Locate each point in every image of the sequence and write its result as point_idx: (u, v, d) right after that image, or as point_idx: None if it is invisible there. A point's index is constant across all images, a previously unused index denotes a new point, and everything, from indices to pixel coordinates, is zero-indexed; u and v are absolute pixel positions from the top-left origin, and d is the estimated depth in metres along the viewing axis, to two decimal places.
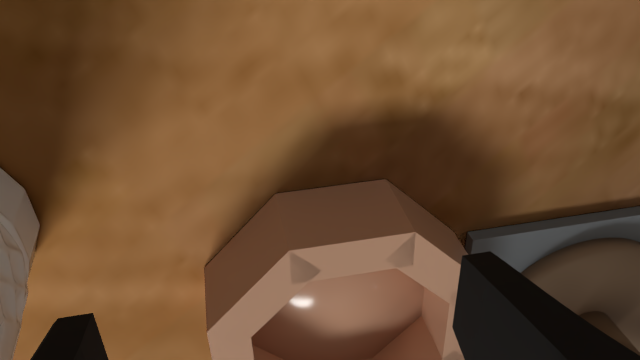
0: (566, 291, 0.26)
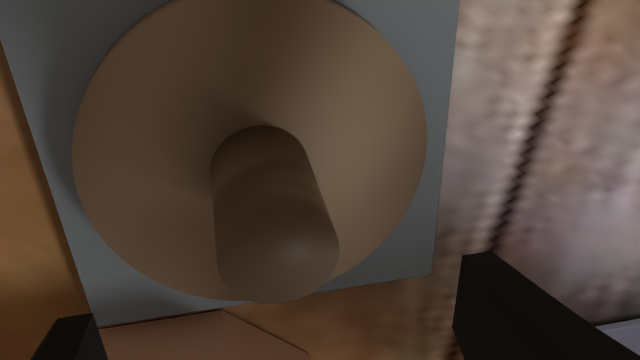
0: (163, 228, 0.17)
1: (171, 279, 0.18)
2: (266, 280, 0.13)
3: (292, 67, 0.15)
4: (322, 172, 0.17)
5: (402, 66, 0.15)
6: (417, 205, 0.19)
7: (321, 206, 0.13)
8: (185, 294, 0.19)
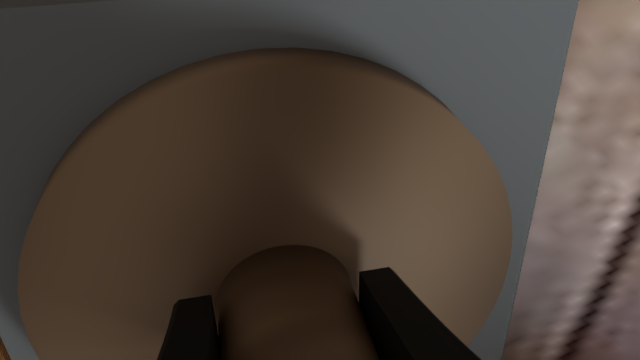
0: None
1: None
2: None
3: (334, 169, 0.10)
4: None
5: (487, 162, 0.11)
6: None
7: None
8: None
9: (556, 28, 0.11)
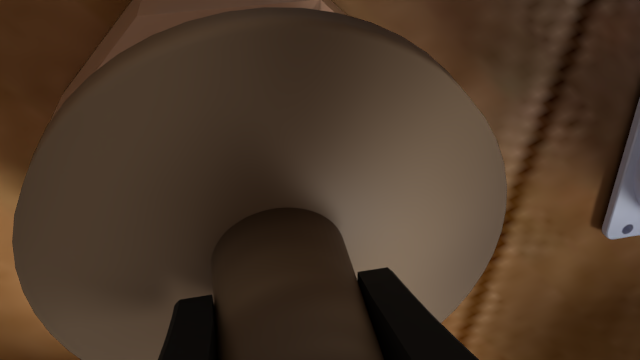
0: (143, 328, 0.12)
1: None
2: None
3: (335, 135, 0.10)
4: (361, 261, 0.12)
5: (487, 133, 0.11)
6: None
7: None
8: None
9: None
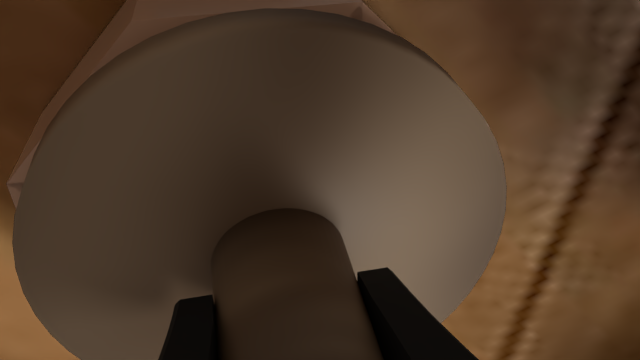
0: (144, 329, 0.12)
1: None
2: None
3: (335, 135, 0.10)
4: (361, 262, 0.12)
5: (487, 134, 0.11)
6: None
7: None
8: None
9: None
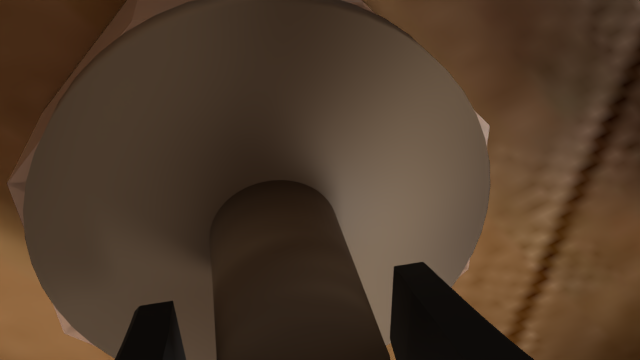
0: None
1: None
2: None
3: (324, 107, 0.11)
4: (353, 238, 0.13)
5: (467, 108, 0.12)
6: None
7: (366, 310, 0.09)
8: None
9: None
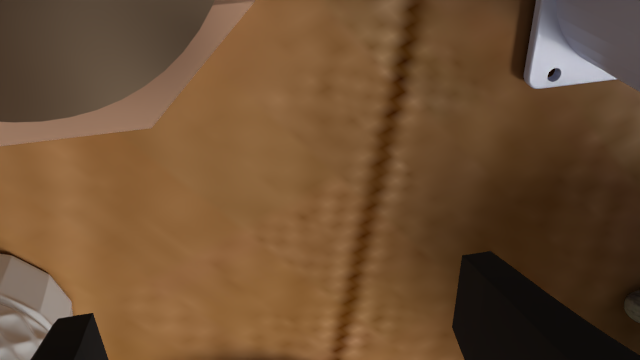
0: None
1: None
2: None
3: None
4: None
5: None
6: None
7: None
8: None
9: None
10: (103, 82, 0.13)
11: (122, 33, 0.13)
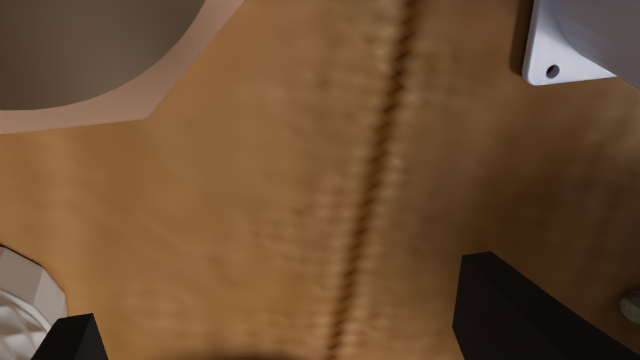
0: None
1: None
2: None
3: None
4: None
5: None
6: None
7: None
8: None
9: None
10: (98, 71, 0.13)
11: (117, 21, 0.13)
